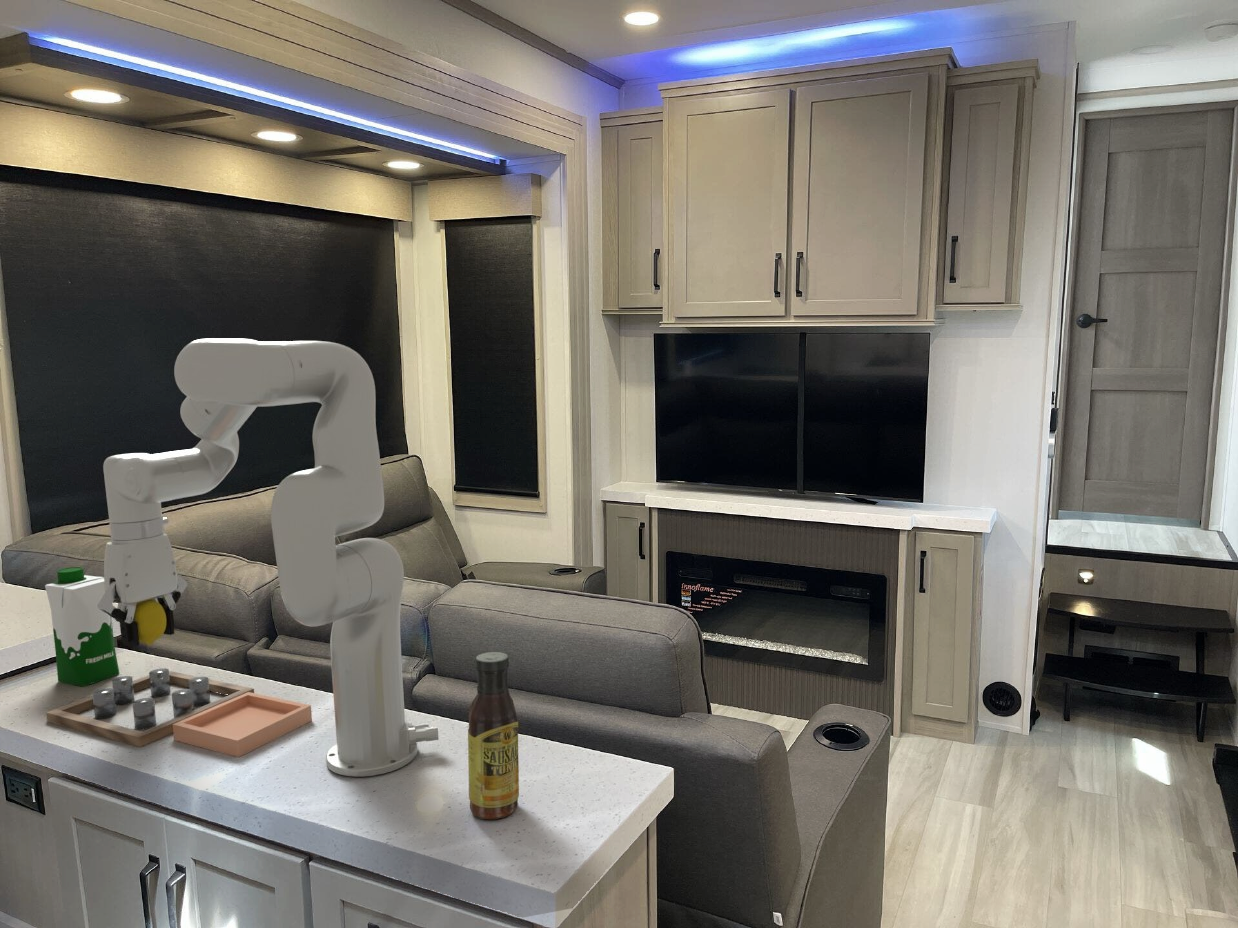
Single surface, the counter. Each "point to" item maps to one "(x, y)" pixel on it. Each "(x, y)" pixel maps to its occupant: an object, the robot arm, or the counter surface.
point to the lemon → (150, 621)
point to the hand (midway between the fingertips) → (149, 638)
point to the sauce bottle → (493, 741)
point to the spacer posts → (145, 706)
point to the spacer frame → (70, 719)
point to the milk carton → (81, 628)
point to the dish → (242, 723)
